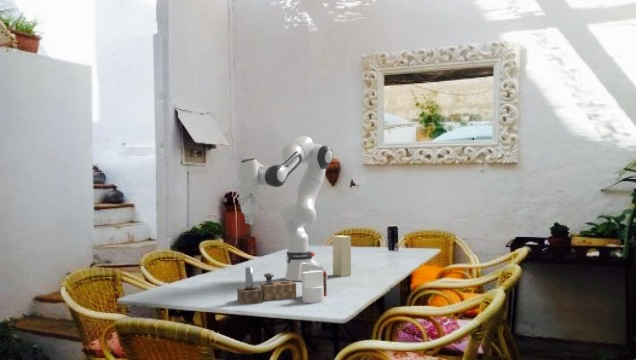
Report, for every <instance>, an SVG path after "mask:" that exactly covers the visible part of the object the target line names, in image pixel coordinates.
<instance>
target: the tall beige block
mask: <svg viewBox="0 0 636 360" xmlns="http://www.w3.org/2000/svg"><path fill="white" fill-rule="evenodd" d="M351 238H352V236H351V235H340V234H339V235H333V236H332V275H333V276H336V275H337V277H340V276H344V277H348V276H347V275H351V276H352V239H351Z"/></svg>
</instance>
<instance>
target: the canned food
mask: <svg viewBox="0 0 636 360" xmlns="http://www.w3.org/2000/svg"><path fill="white" fill-rule="evenodd" d="M320 270H321V271H323V283H324V297H326V296H327V293H328V292H327V291H328V290H327V279H326V275H327V270H326V269H324V268H323V269H311V270H309V271H320Z"/></svg>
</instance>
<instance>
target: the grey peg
mask: <svg viewBox="0 0 636 360" xmlns="http://www.w3.org/2000/svg"><path fill="white" fill-rule="evenodd" d="M253 271H254V270H253V267H252V266H251V267H250V266H248V267H247V266H246V267H245V275H244V278H245V288H246V291H249V290H253V287H254V283H253V282H254V280H253V279H254V277H253V276H254V275H253V273H254V272H253Z"/></svg>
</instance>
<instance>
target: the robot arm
mask: <svg viewBox="0 0 636 360" xmlns="http://www.w3.org/2000/svg"><path fill="white" fill-rule="evenodd" d="M313 141H314V140H313V139H312V138H311V137H310V136H308V135H300V136H298V137H295V138H294V139H292V140H291V141H289V142H288V143H287V144H285V145H284V147H283V148H282V149H281V152H280V153H281V155H280V156H281V158H282V160H283V161H282V162H281V163H280V164H274V165H263V164H261V163H260V162H258V160H257V158H245V159H242V160H241V161H240V163H239V166H238V167H239V168H238V179H239V184H238V185H239V186H238V198H240V210H241V213H242V214H243V216H244V220H245V221H244V222H245V224H248V225H250V226H253V225H254V222H255V215H257V214H258V201H257V198H259V187H272V188H273V187H274V188H276V187H277V188H279V187H282V186H283V185H284V183H286V180H287V179H288V178H289V176H290V175H291V173H292V172H294V171H295V170H296V169H297V167H299V165H300V164H303V163H304V164H306V165H307V167H306V170H305V172H304V173H303V175H302V177H301V179H300V181H299V184H298V186H297V188H296V194H297V200H296V201H295V203H288V204H285V205H283V206H281V208H280V210H279V212H278V215H279V216H278V217H279V219H280V221H281V222H282V224H283V227H284V230H285V234H286V243H287V244H286V256H285V258H286V263H287V264H286V271H285V272H286V273H285V277H284V280H285V281H293V282H302V272H308V271H309V270H311V269H324V268H323V266H322V264H320V263H319V262H318V261H316V260H315V259H314V258H313V257H315V256H316V253H315V252H313V251H312V252H311V251H309V250H310V249H309V235H308V233H307V232H306V231H305V227H304V226H308V225H310V224H313V223H314V222H315V220H316V219H317V210H316V209H315V207H316V201H317V197H318V194H319V192H320V190H321V187H322V185H323V183H324V180H325V176H326V171H327V170H326V169H327V168H328V167H329V166H330V164H331V163H332V161H333V160H334V152H333V150H332V148H331V147H330V146H328V145H322V144H320V143H314V142H313ZM327 279H329V276H328V275H327V274H326V280H327Z"/></svg>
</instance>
